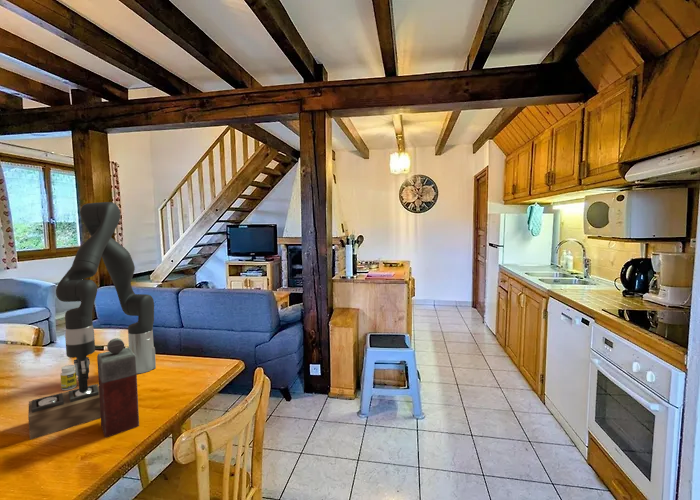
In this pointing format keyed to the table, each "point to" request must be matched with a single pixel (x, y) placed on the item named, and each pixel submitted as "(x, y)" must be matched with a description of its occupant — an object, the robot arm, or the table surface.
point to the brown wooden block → (63, 412)
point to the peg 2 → (83, 392)
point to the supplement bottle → (68, 377)
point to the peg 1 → (47, 401)
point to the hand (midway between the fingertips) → (83, 390)
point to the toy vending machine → (117, 388)
